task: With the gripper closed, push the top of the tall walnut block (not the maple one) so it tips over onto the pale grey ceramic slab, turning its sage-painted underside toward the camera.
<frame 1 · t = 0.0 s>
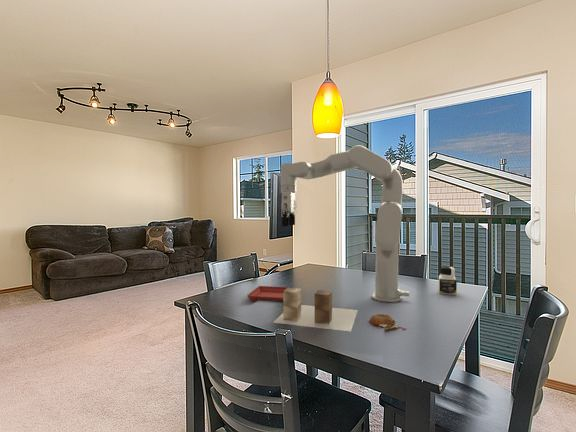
hand: (288, 225, 156), 31 cm above the table, fingers open, 9 cm apart
walnut block: (323, 321, 111), point 1 cm above the table, touching slab
slab: (317, 319, 117), on the table
maple block: (292, 318, 115), point 1 cm above the table, touching slab
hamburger: (388, 328, 110), on the table
red tray: (272, 299, 145), on the table
medicine bottle: (447, 292, 153), on the table
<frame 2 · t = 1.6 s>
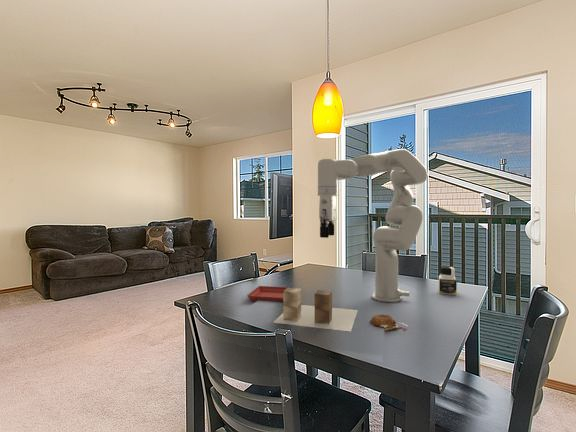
hand: (327, 236, 126), 29 cm above the table, fingers open, 9 cm apart
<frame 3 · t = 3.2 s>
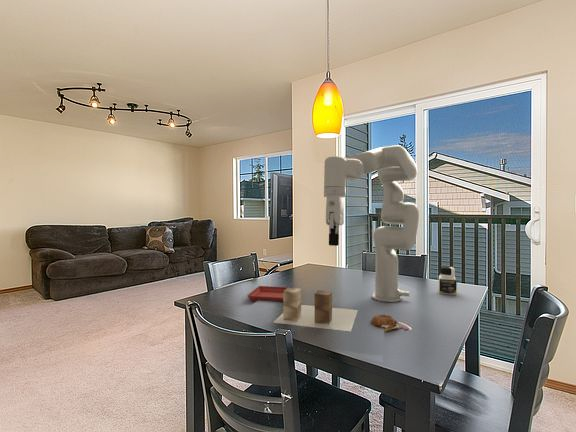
hand: (333, 245, 114), 27 cm above the table, fingers closed
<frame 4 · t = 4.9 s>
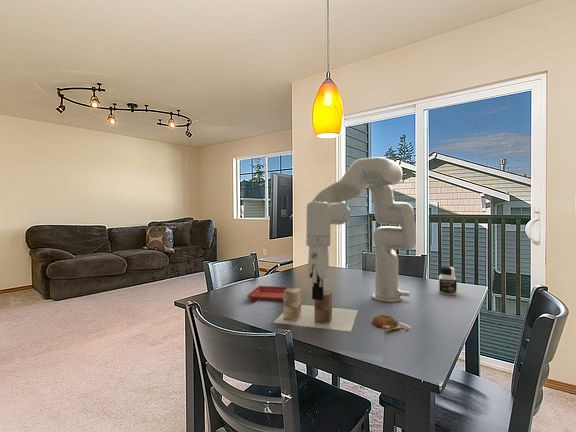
hand: (317, 299, 103), 11 cm above the table, fingers closed
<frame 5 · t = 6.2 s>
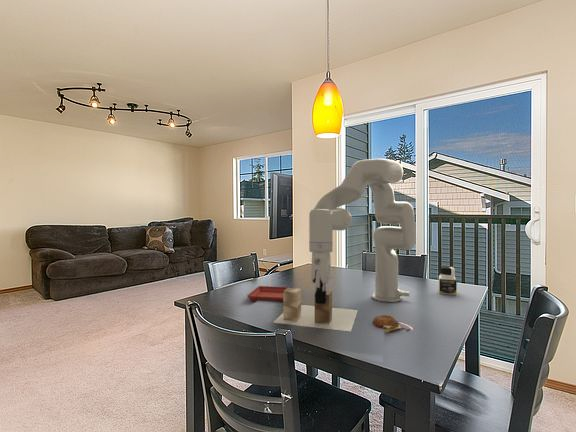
hand: (320, 302, 107), 9 cm above the table, fingers closed
walnut block: (323, 321, 111), point 1 cm above the table, touching gripper, slab
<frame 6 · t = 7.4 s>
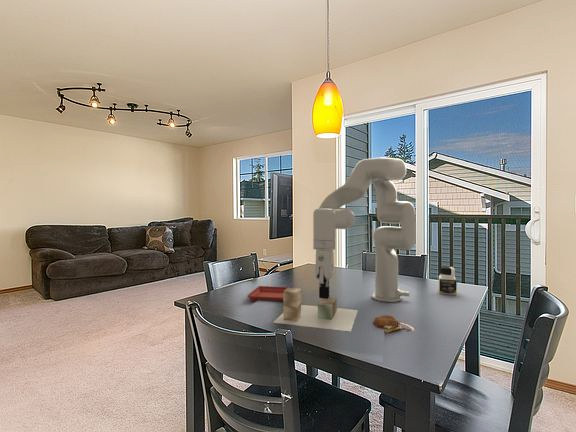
hand: (324, 297, 112), 9 cm above the table, fingers closed
walnut block: (324, 312, 114), point 4 cm above the table, tilted 90°, touching slab
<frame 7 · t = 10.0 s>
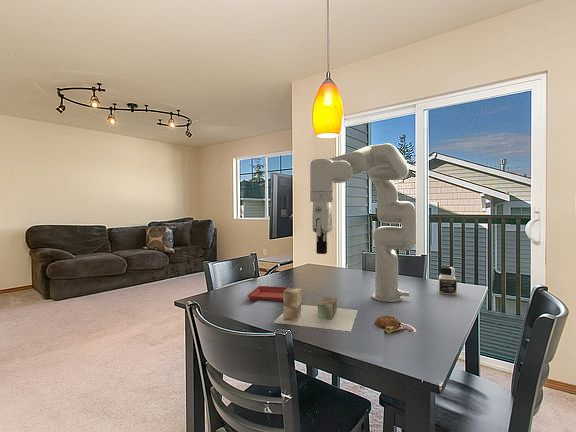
hand: (321, 253, 107), 25 cm above the table, fingers closed
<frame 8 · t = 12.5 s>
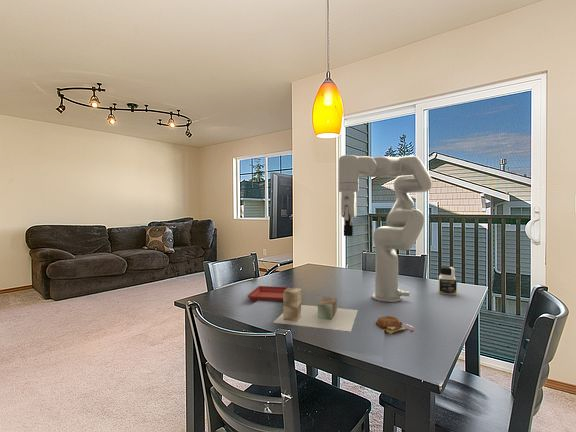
hand: (348, 235, 126), 29 cm above the table, fingers closed
at the end: walnut block tilted 90°; walnut block inside the target area on the slab (3.9 cm from its centre), point 3.7 cm above the slab's base; maple block tilted 0° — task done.
